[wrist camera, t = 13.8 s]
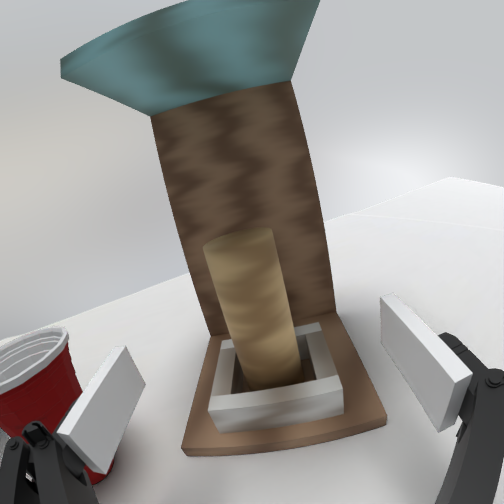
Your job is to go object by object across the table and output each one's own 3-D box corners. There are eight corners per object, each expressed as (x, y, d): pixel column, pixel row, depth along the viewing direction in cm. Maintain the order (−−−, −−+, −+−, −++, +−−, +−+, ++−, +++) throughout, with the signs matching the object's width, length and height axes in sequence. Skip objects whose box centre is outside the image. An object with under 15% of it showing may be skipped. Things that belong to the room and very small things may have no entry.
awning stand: (186, 455, 17) (51, 54, 9) (215, 337, 34) (152, 107, 27) (385, 425, 16) (314, -29, 8) (334, 314, 33) (285, 73, 26)
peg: (250, 410, 20) (196, 256, 16) (251, 374, 24) (208, 238, 21) (308, 399, 19) (273, 237, 16) (301, 364, 24) (270, 223, 20)
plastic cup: (123, 409, 23) (67, 306, 20) (157, 483, 14) (63, 361, 11) (43, 440, 17) (-22, 344, 14) (51, 517, 9) (-58, 408, 5)
